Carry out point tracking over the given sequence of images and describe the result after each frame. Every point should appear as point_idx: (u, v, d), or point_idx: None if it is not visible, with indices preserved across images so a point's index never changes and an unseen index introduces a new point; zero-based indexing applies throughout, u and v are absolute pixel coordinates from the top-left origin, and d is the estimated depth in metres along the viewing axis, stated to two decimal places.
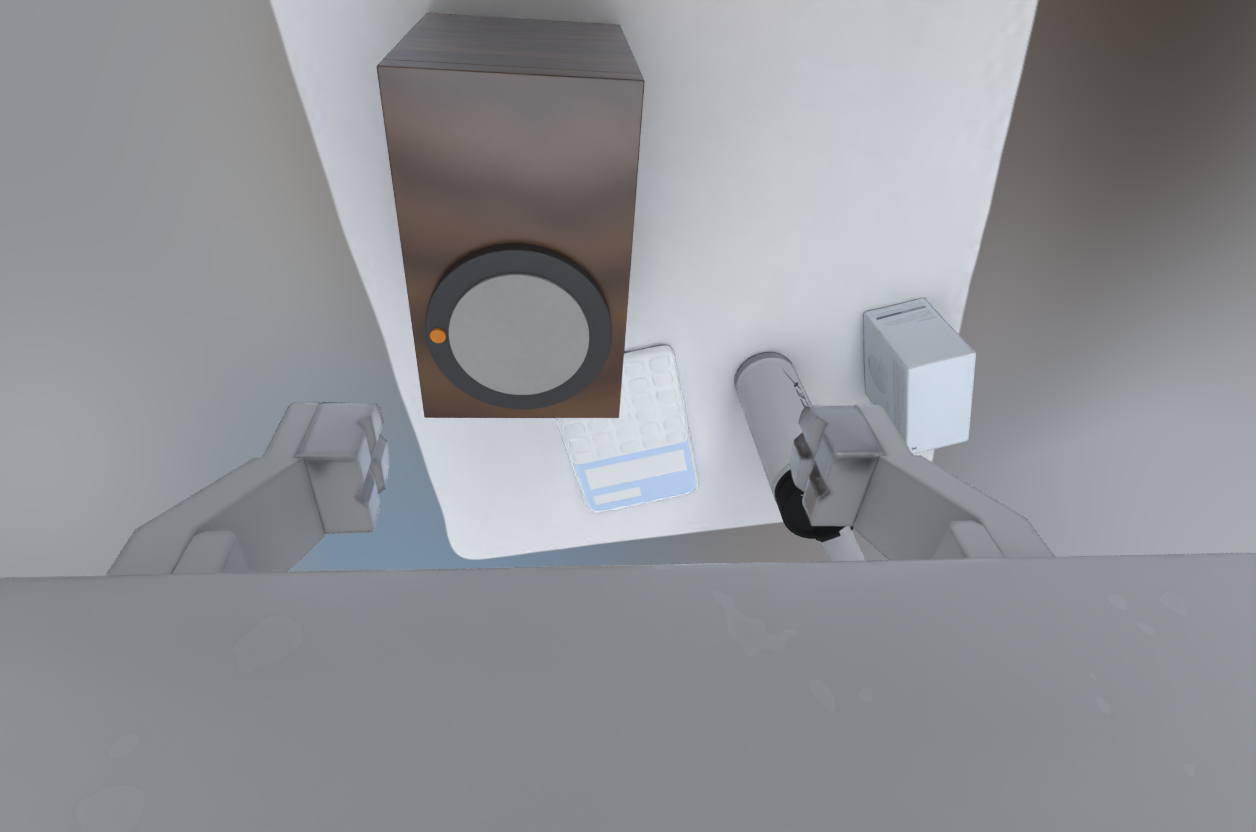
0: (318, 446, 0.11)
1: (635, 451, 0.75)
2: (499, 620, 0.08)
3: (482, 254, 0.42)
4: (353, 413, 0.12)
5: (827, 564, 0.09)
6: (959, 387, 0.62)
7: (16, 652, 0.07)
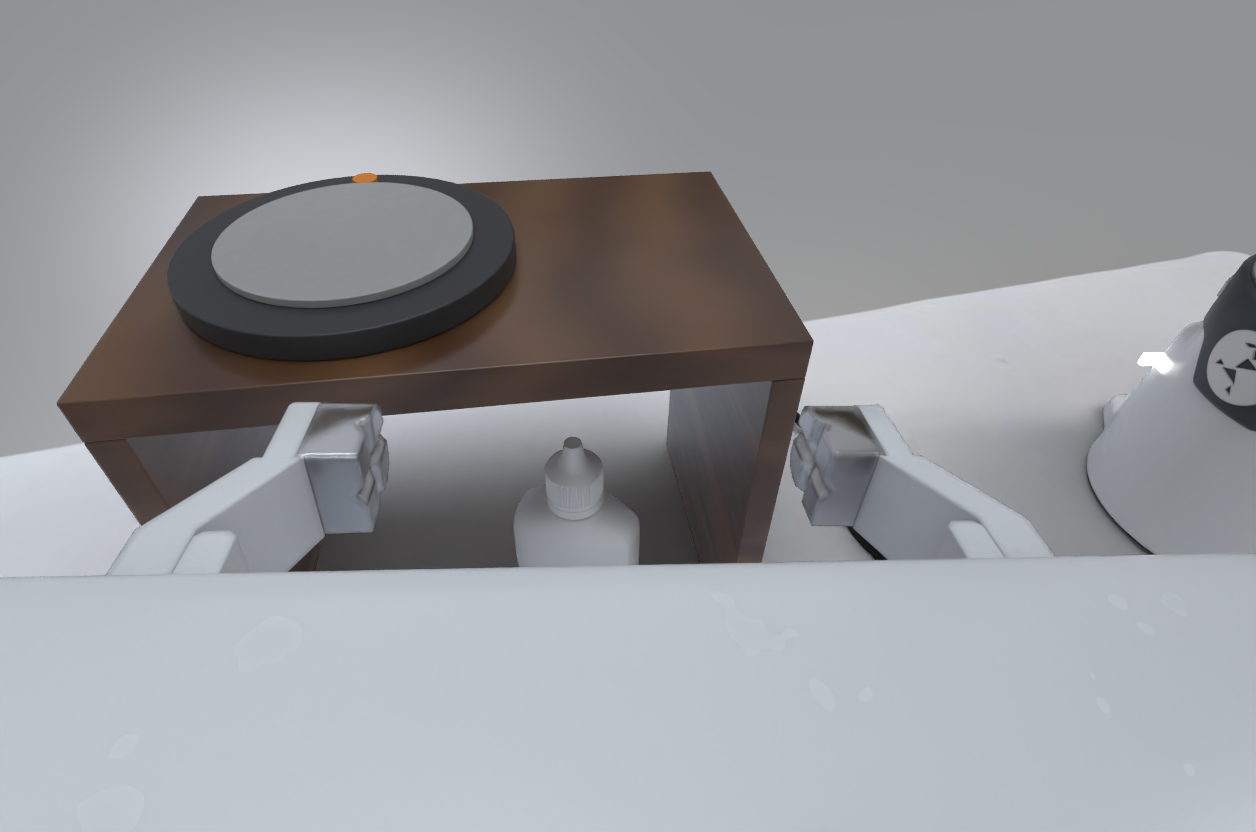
0: (318, 446, 0.11)
1: None
2: (499, 620, 0.08)
3: None
4: (353, 412, 0.12)
5: (827, 564, 0.09)
6: None
7: (16, 652, 0.07)
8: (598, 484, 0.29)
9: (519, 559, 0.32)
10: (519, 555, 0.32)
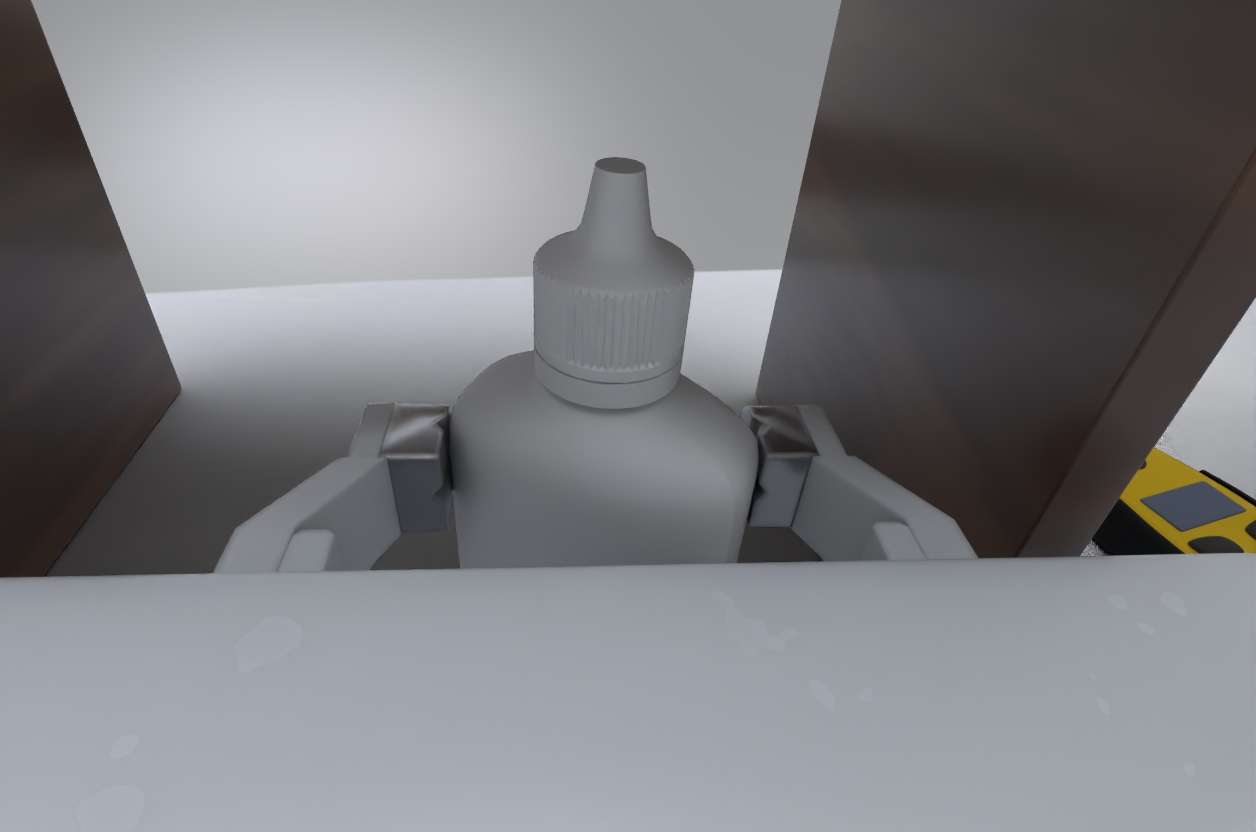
0: (400, 446, 0.12)
1: None
2: (498, 620, 0.08)
3: None
4: (429, 413, 0.12)
5: (827, 564, 0.09)
6: None
7: (16, 652, 0.07)
8: (679, 307, 0.10)
9: (459, 527, 0.14)
10: (459, 516, 0.14)
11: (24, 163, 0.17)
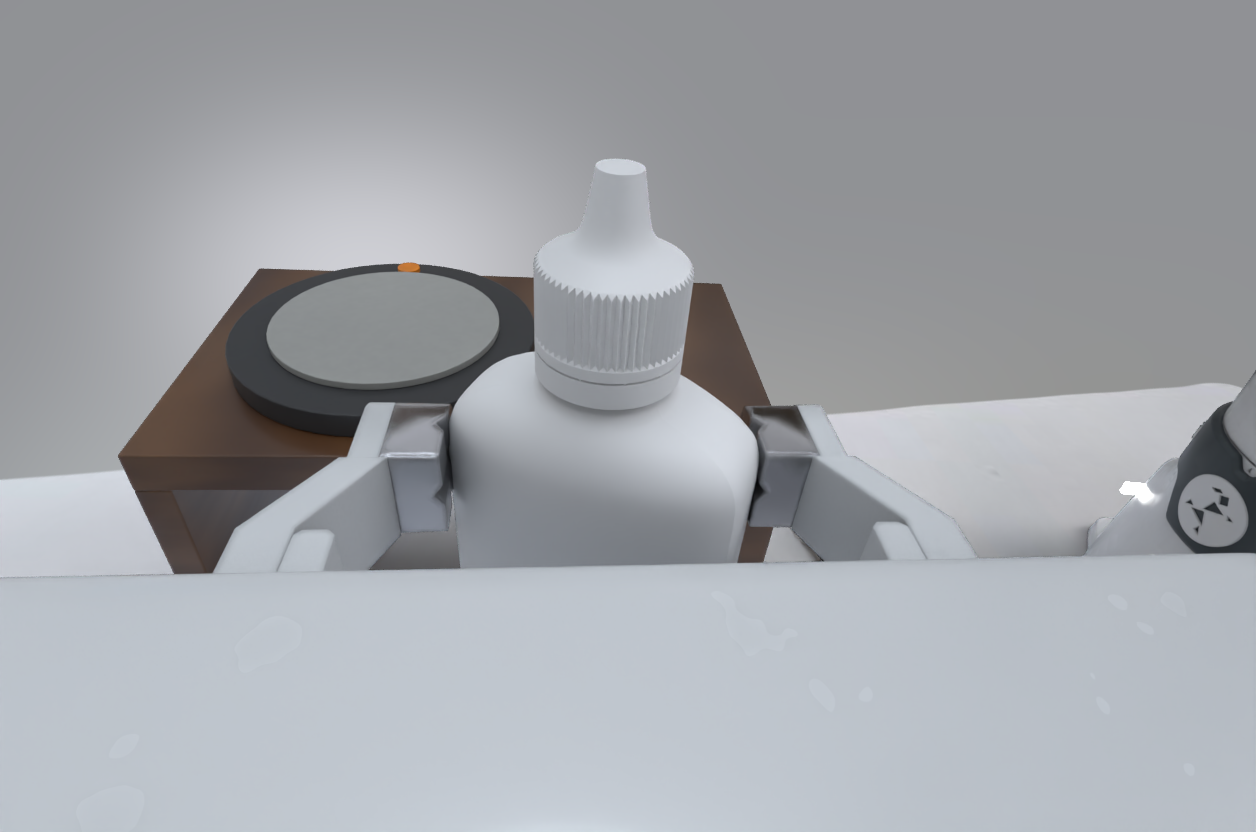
0: (400, 446, 0.12)
1: None
2: (498, 620, 0.08)
3: None
4: (429, 413, 0.12)
5: (827, 564, 0.09)
6: None
7: (16, 652, 0.07)
8: (679, 308, 0.10)
9: (459, 528, 0.14)
10: (459, 517, 0.14)
11: None
